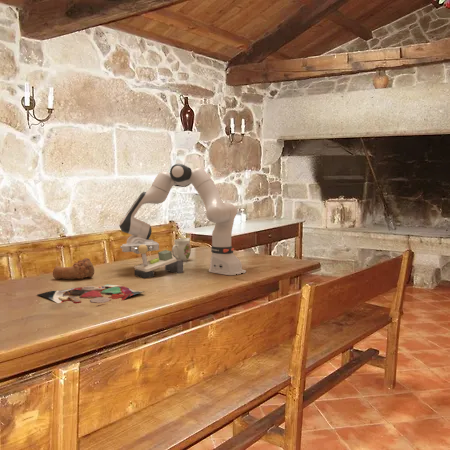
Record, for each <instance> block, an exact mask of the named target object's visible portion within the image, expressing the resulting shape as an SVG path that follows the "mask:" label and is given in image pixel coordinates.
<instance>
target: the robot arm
mask: <svg viewBox="0 0 450 450" xmlns="http://www.w3.org/2000/svg"><path fill="white" fill-rule="evenodd" d="M190 185H192V186H193V187H194V189H195V191H196V192H197V194H198V195H199V196H200V198H201V200H202V201H203V204H204V206H205V207H204V208H205V210H206V212H205V216H206V218H207V220H208V221H209V222H211V223H214V227H213V230H212V233H211V234H212V235H211V236H212V237H211V242H212V243H211V247H210V249H211V251H210V252H211V255H210V261H209V269H208V272H209V273H214V274H219V275H226V276H236V274H237V275H241V273H243V274H246V273H247V270H245V269H243V264H242V261H241V260H240V259H239V258H238V257H237V255H236V254H235V253H234V250H235V248H234V247H233V246H232V231H233V225H234V223H235V222H234V221H235V218H236V215H237V213H238V210H237V207H236V206H235V205H234V204H233V203H230V202H224V201H222V198H221V195H220V190H219V188H218V187H217V185H216V184H215V182H214V180H213V179H212V178H211V176H210V175H209V174H208V173H207V171H206V170H205V169H204V168H202V167H196V168H194V169H192V168H191V167H189V166H187V165H185V164H183V163H175V164H173V165H172V166H171V168H170V170H169V171H164V170H163V171H160V172H159V173H158V174H157V175H156V176H155V179H154V180H153V182H152V183H151V185H150V188H148V190H146V191H143V192H141V193H140V195H139V196H138V197H137V198H136V199H135V201H134V202H133V204H131V207H129V210H128V211H127V212H126V214H125V215H124V217H122V219H120V222H119V226H118V227H119V228H120V230H121V232H122V233H126V234H129V237H128V238H127V239H126V243H122V245H121V246H120V247H119V248H120V249H121V252H123V253H130V252H132V253H134V254H137V255H139V254H141V253H140V252H139V251H138V248H139V246H140V245H146V246H147V248H148V250H147V252H153V251H159V250H160V244H159V242H157V241H154V239H150V238H151V235H152V226H151V224H149V223H148V222H145V221H142V220H140V219H137V217H135V215H136V214H137V213H138V211H139V210H140V208H141V207H142V206H143V205H145V204H152V205H153V204H154V205H155V204H157V205H158V204H159V205H160V204H162V203H164V202H165V201H166V200H167V198H168V196H169V194H170V192H171V190H172V188H173V187H174V186H175V187H179V188H186V187H188V186H190ZM147 252H146V253H147Z"/></svg>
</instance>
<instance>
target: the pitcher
mask: <svg viewBox="0 0 450 450" xmlns="http://www.w3.org/2000/svg"><path fill="white" fill-rule="evenodd" d="M173 242H174V245H172V249H171V252H172V257H173V258H176V259H180V260H183V262H187V261H188V260H189V258H190V256H191V252H192V251H191V250H192V247H191V244H190V243H191V237H183V238H177V239H174V240H173Z"/></svg>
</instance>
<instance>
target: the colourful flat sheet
mask: <svg viewBox="0 0 450 450" xmlns="http://www.w3.org/2000/svg"><path fill="white" fill-rule="evenodd" d="M142 293H145V291H142V290H141V291H140V290H135V289H134V290H133V289H132V288H130V287H127V286H123V285H117V284H110V283H109V284H108V283H107V284H104V285H101V286H94V285H87V286H82V287H81V286H80V287H71V288H67V289H63V290H50V291H46V292H45V291H44V292H41V293H38V294H37V296H40V297H43V298H45V299H49V300H51V301H53V302H55V303H56V304H60V303H64V302H65V303H66V302H72V303H73V304H74V305H75V304H81V303H82V300H81V299H86V300H87V299H89V303H91V304H98V305H97V307H99V306H102V305H106V303H108V302H111V301H112V300H118V299H121V301H124V300H127V299H128V298H130V297H131V296H135V295H137V294H142ZM104 295H105V296H108V297H105V296H104ZM77 297H79V298H77ZM103 303H104V304H103Z"/></svg>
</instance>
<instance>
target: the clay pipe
mask: <svg viewBox="0 0 450 450" xmlns="http://www.w3.org/2000/svg"><path fill="white" fill-rule="evenodd" d="M94 274H95V267H94V265H93V262H92V261H91V259H90V258H89V257H88V258H87V257H85V258H83V259H82V260H78V261H77V262H74V263H73V265H72V266H67V267H66V266H65V267H63V266H55V267H54V268H53V269H52V276H53V279H55V280H61V279H67V280H69V279H79V280H83V279H85V278H92V277H93V276H94Z"/></svg>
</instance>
